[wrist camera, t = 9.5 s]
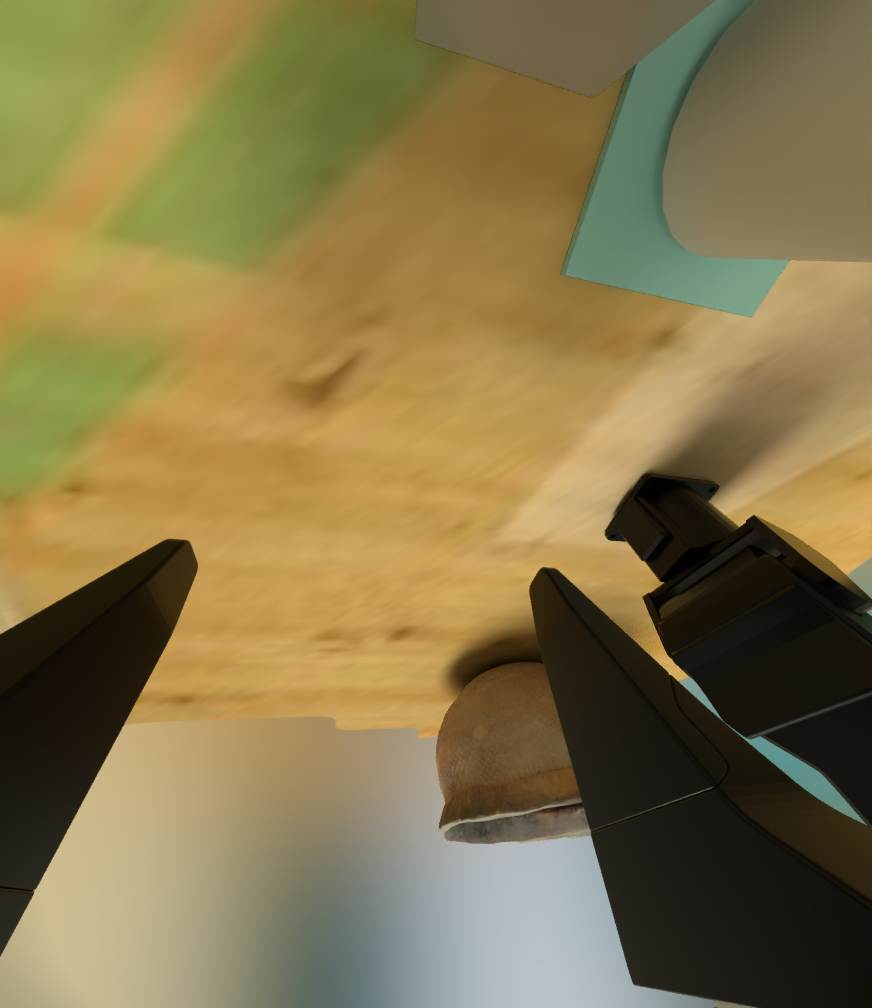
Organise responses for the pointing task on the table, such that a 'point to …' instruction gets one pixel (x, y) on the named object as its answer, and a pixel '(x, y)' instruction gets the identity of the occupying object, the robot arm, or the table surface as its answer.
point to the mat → (659, 188)
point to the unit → (556, 35)
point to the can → (778, 138)
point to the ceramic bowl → (507, 762)
